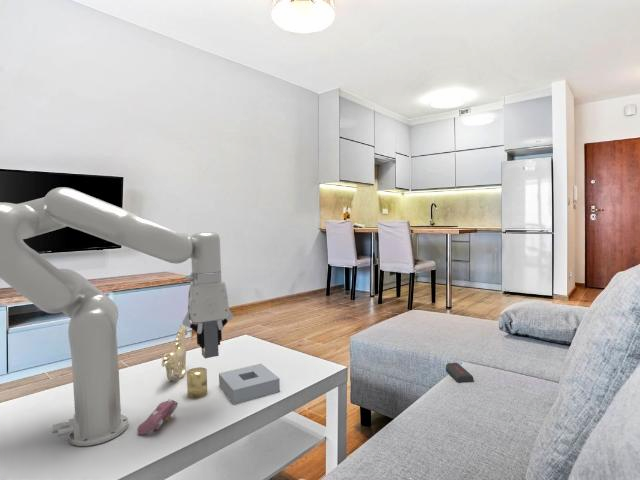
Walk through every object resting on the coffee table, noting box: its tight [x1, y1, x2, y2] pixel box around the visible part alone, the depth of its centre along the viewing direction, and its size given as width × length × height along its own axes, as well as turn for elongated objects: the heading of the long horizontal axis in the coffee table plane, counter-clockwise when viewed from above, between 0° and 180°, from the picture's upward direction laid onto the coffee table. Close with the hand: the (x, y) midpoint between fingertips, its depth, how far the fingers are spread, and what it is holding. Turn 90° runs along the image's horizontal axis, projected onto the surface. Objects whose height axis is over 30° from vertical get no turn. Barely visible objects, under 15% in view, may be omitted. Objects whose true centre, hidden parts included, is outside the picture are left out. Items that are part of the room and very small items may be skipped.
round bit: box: [186, 366, 209, 400], centre depth 110 cm, size 6×6×7 cm
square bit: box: [201, 320, 220, 359], centre depth 101 cm, size 4×4×10 cm
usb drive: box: [444, 362, 474, 384], centre depth 120 cm, size 5×12×3 cm, turn 3°
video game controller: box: [137, 398, 179, 436], centre depth 93 cm, size 10×5×7 cm, turn 169°
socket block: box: [218, 363, 281, 405], centre depth 113 cm, size 14×14×4 cm
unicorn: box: [161, 324, 188, 382], centre depth 121 cm, size 20×4×17 cm, turn 0°
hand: (209, 344), depth 102 cm, fingers closed on square bit, 3 cm apart
